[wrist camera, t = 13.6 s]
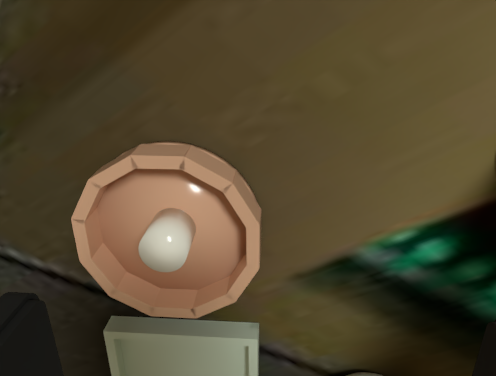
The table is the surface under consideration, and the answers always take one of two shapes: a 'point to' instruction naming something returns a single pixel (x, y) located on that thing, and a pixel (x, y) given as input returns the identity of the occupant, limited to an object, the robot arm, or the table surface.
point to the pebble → (167, 240)
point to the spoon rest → (364, 374)
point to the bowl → (142, 213)
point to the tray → (181, 347)
